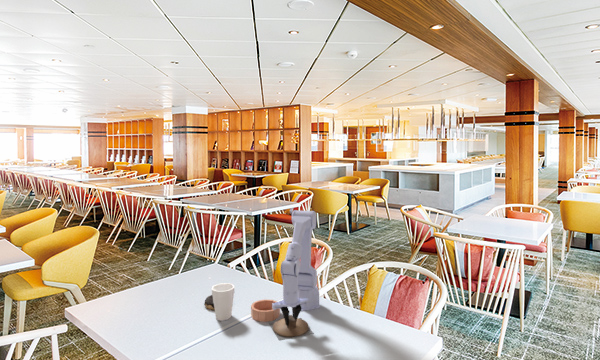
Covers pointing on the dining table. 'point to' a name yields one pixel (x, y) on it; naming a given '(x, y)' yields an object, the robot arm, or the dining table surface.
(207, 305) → the donut
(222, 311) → the foam cup
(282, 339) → the mat
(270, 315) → the bowl
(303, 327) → the lid
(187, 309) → the dining table surface
